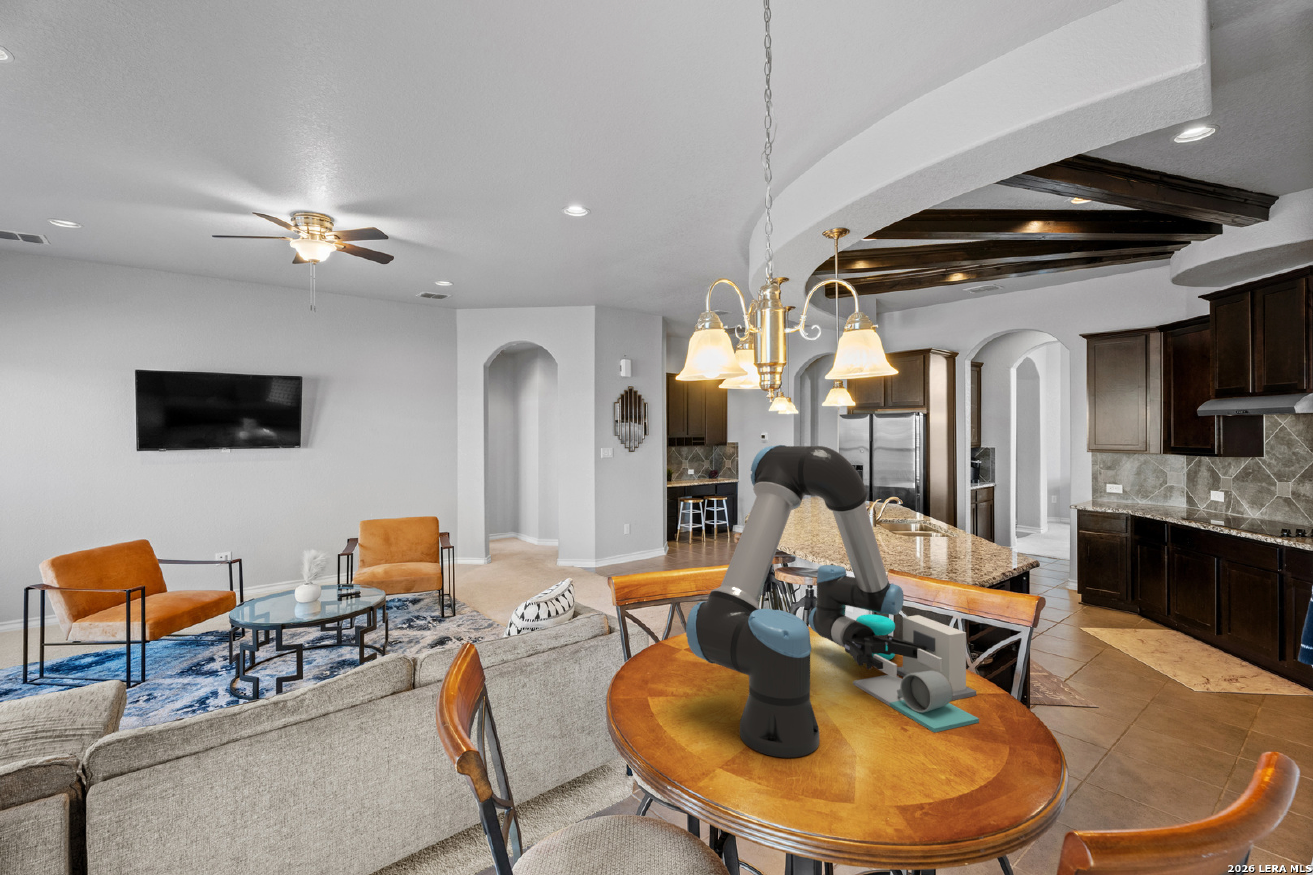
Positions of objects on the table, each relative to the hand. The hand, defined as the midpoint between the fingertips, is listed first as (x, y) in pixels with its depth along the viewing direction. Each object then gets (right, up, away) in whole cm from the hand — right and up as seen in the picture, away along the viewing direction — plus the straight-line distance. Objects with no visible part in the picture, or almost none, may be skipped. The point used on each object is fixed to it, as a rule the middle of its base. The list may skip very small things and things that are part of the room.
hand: (918, 668), depth 125 cm
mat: (-1, -8, +2) cm, 9 cm away
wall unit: (+9, -9, +12) cm, 17 cm away
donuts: (+2, -9, +30) cm, 31 cm away
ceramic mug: (0, -8, -1) cm, 8 cm away
